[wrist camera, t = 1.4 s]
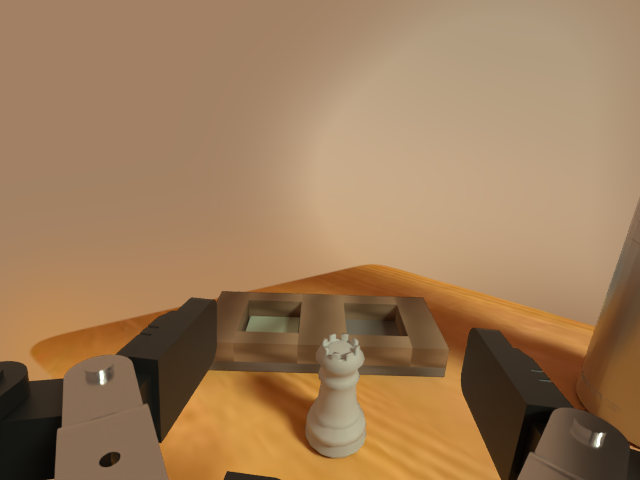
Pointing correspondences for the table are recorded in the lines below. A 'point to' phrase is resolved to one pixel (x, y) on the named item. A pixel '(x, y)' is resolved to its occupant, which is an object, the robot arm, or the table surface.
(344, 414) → the rook chess piece
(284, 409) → the table surface
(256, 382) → the table surface
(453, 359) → the table surface
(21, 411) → the robot arm
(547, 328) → the table surface
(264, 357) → the slot rail
